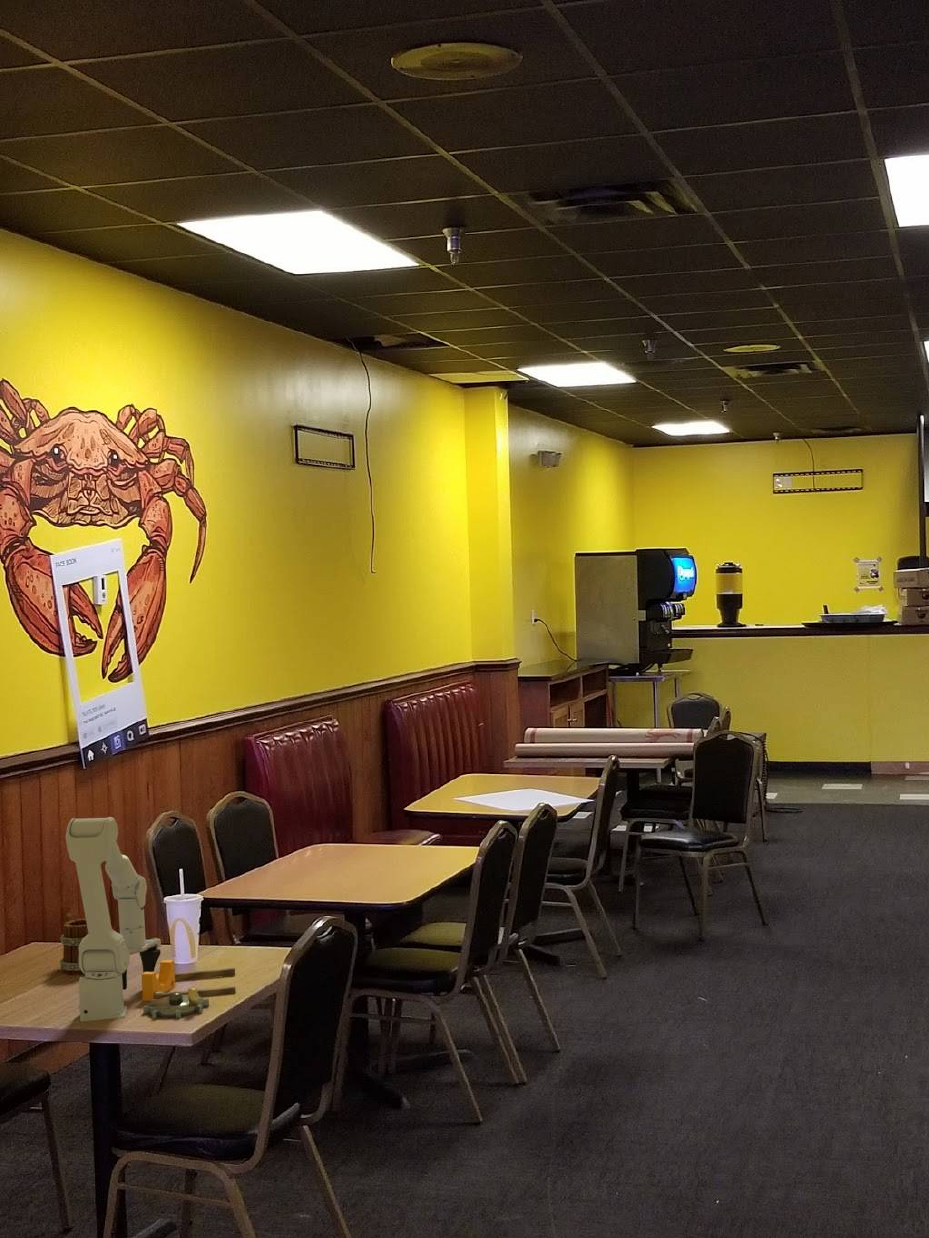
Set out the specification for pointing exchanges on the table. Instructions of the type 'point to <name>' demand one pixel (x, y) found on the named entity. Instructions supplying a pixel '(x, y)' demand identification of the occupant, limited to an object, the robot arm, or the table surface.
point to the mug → (72, 944)
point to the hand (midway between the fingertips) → (135, 984)
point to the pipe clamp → (158, 980)
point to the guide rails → (203, 975)
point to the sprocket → (176, 1005)
